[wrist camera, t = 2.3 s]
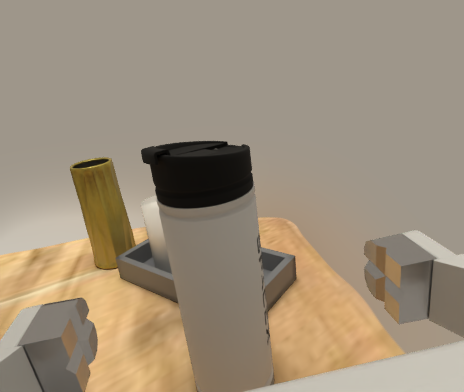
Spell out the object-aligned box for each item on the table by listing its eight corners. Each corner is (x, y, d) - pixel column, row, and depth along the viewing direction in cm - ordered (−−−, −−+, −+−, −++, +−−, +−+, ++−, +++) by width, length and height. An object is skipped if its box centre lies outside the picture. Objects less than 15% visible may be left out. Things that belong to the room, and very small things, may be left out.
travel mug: (179, 383, 28) (123, 145, 21) (241, 340, 32) (210, 124, 25) (224, 440, 23) (171, 158, 16) (290, 382, 27) (270, 130, 20)
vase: (99, 275, 46) (68, 173, 40) (91, 257, 51) (63, 164, 45) (143, 258, 48) (120, 161, 43) (132, 243, 53) (109, 153, 48)
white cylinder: (147, 269, 44) (131, 205, 41) (175, 250, 48) (163, 190, 45) (175, 280, 41) (160, 212, 38) (203, 259, 45) (192, 195, 42)
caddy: (120, 277, 44) (115, 257, 43) (175, 242, 51) (172, 225, 50) (248, 333, 32) (244, 308, 31) (296, 278, 40) (295, 255, 39)
